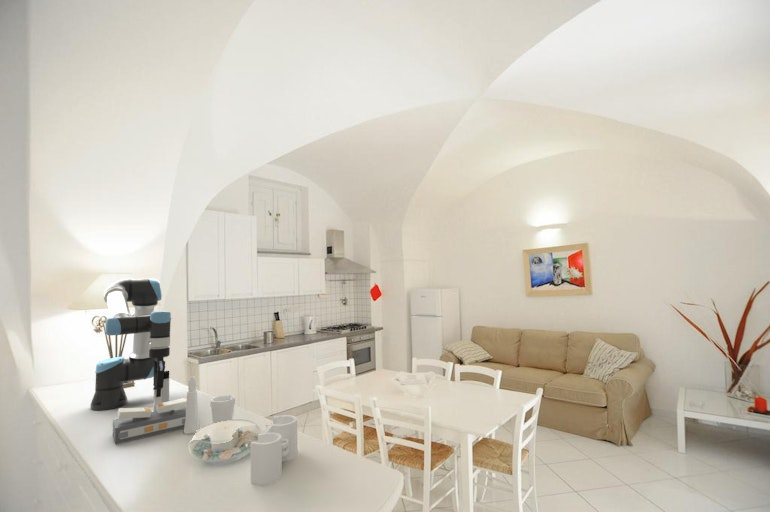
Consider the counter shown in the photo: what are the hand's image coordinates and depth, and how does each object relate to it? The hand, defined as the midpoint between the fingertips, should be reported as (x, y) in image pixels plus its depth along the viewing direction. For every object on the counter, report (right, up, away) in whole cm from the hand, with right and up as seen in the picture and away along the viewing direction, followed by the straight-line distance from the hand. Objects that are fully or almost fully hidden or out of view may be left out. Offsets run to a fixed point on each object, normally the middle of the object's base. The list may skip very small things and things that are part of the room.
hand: (157, 404), depth 160 cm
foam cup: (+29, -10, -3) cm, 31 cm away
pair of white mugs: (+60, -7, -34) cm, 69 cm away
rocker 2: (+4, -3, +3) cm, 6 cm away
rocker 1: (-7, -3, -5) cm, 9 cm away
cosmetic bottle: (+16, -10, -3) cm, 19 cm away
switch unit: (-1, -10, -1) cm, 11 cm away
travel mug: (-9, -12, +18) cm, 23 cm away
